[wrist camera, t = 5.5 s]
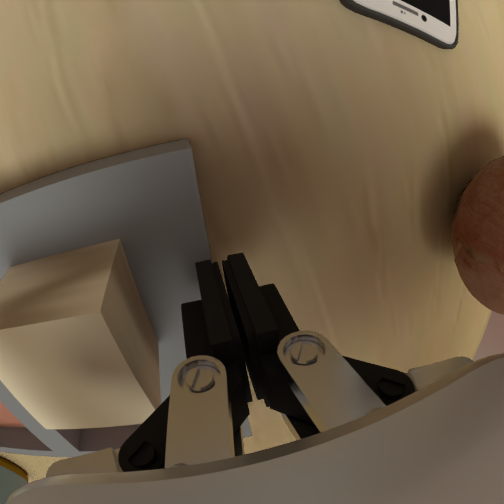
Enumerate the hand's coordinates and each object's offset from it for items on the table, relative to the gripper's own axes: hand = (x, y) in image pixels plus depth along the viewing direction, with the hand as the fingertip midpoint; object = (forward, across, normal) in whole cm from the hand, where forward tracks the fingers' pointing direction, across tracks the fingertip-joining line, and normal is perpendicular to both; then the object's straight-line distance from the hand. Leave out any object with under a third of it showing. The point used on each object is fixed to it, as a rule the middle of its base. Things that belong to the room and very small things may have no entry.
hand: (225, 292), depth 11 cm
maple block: (+1, +6, 0) cm, 6 cm away
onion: (+4, -16, 0) cm, 17 cm away
